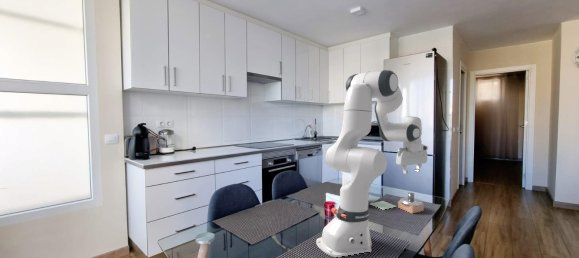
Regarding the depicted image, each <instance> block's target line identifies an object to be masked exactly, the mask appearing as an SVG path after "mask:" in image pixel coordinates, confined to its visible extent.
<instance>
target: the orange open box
mask: <svg viewBox="0 0 579 258" xmlns="http://www.w3.org/2000/svg"><path fill="white" fill-rule="evenodd" d="M398 208H400V209H399V210H401V209H402V210H401V211H403V210H405V211H404V212H406V211H407V212H406V213H408V212H409V214H411V215H413V213H414V214H418V213H422V212H425V203H423V202H422V205H421V206H409V205H405V204H402V203H401V202H400V200H398V201H397V209H398ZM421 211H422V212H421Z"/></svg>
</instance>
